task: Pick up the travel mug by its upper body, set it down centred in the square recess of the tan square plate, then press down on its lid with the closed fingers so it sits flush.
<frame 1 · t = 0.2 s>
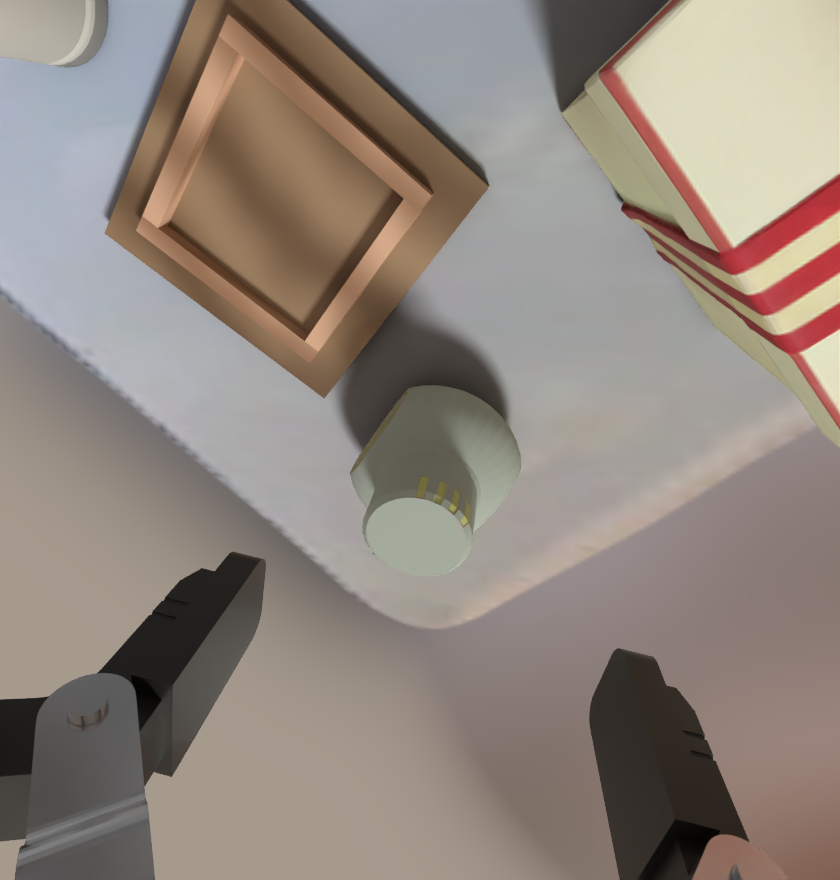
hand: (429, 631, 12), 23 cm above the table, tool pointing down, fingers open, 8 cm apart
tan square plate: (288, 209, 30), on the table
gift box: (801, 78, 24), on the table
air freshener: (439, 442, 36), on the table
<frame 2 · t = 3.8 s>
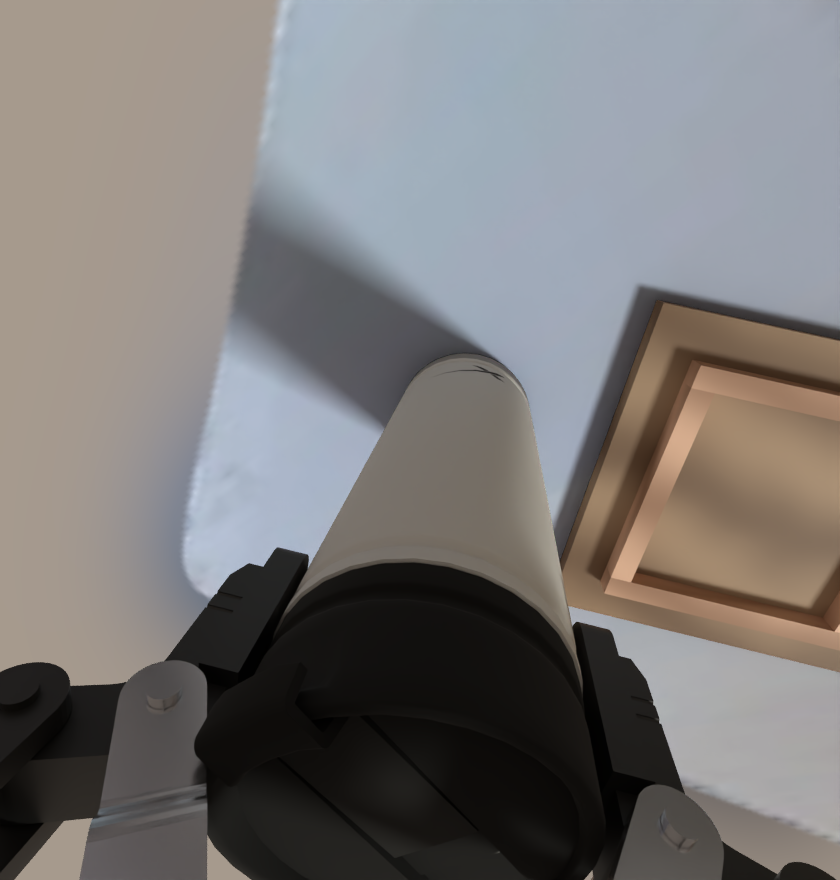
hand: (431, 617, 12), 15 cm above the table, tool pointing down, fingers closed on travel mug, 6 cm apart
tan square plate: (758, 500, 25), on the table
travel mug: (463, 410, 26), on the table, touching gripper
when the fingers open (17 cm above the table, at t = 10.6 s): travel mug drops 1 cm, resting on tan square plate.
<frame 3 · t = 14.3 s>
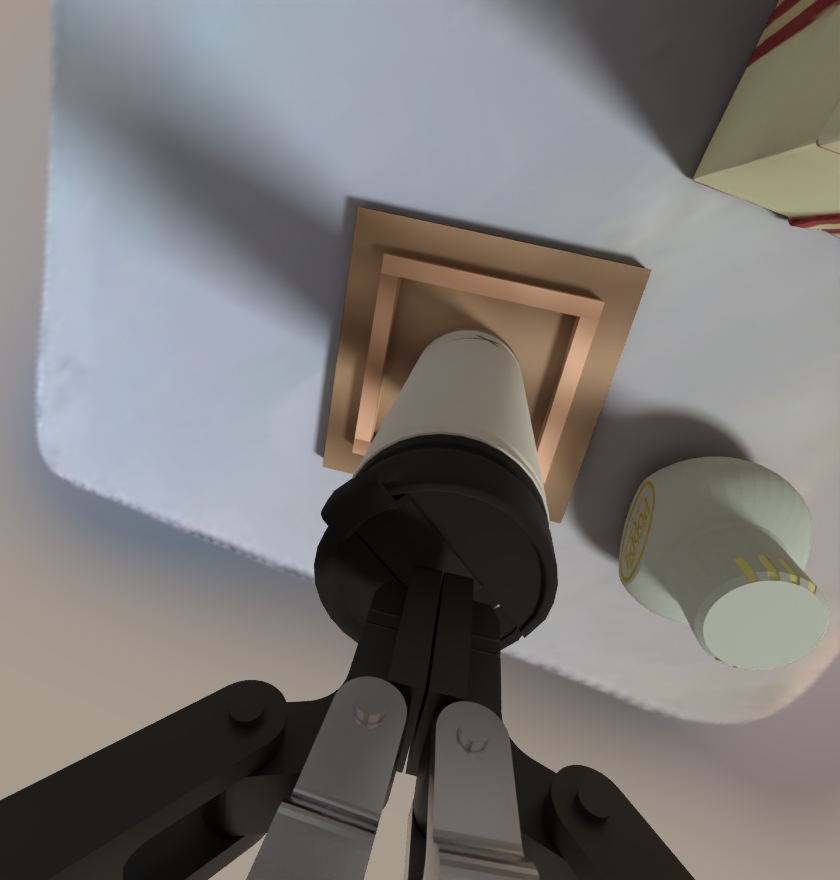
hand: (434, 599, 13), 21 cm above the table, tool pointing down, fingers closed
tan square plate: (469, 374, 32), on the table
travel mug: (466, 376, 31), point 1 cm above the table, touching gripper, tan square plate
air freshener: (688, 516, 34), on the table
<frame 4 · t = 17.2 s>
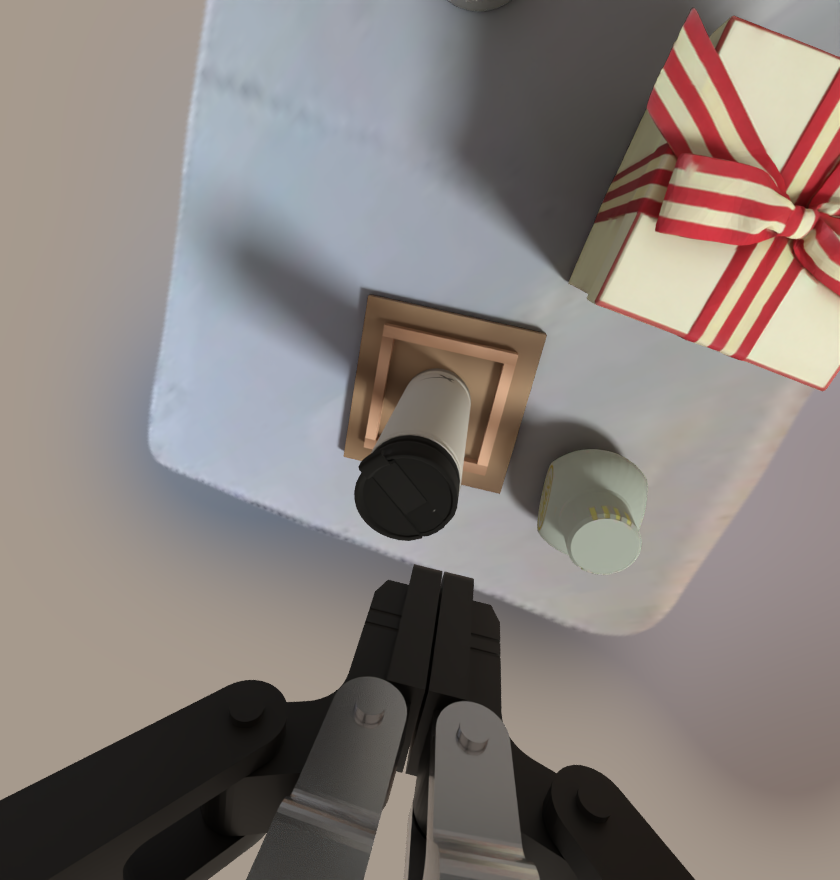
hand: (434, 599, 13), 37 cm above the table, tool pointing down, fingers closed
tan square plate: (438, 397, 50), on the table
gift box: (688, 206, 41), on the table
travel mug: (436, 398, 49), point 1 cm above the table, touching tan square plate
air freshener: (584, 489, 51), on the table
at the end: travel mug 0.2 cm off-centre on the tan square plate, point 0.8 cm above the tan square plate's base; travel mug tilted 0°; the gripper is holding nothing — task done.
